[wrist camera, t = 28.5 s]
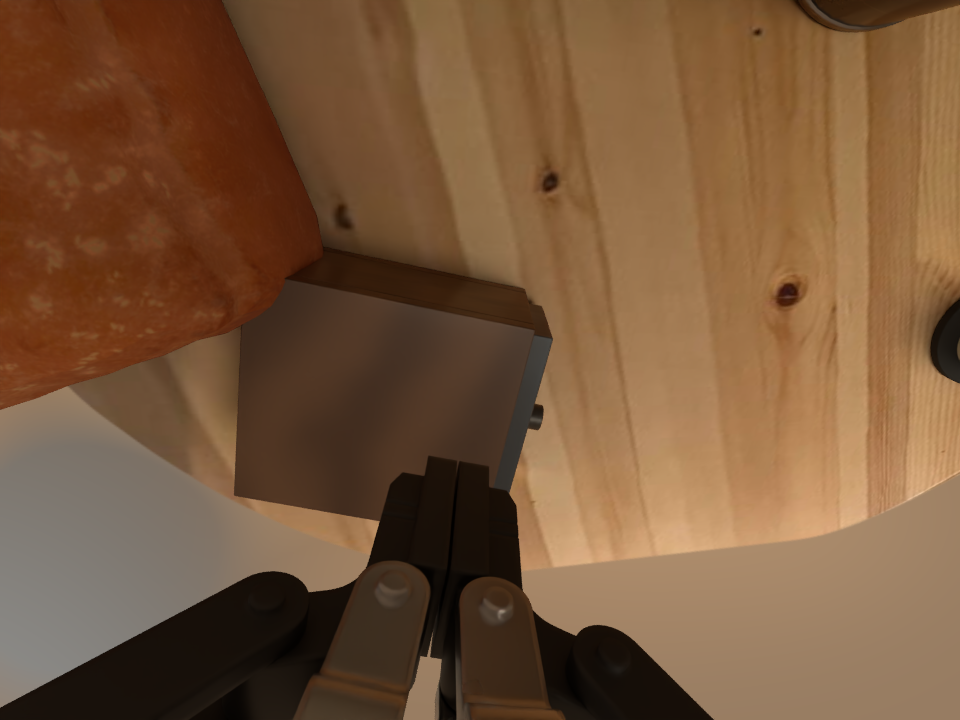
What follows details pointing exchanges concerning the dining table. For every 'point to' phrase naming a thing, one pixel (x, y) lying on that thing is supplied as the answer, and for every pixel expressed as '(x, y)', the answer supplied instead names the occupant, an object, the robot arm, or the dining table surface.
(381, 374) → the cabinet
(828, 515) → the dining table surface
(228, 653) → the robot arm
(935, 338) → the coaster
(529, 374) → the drawer
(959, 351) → the cream bottle
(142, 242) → the bread
